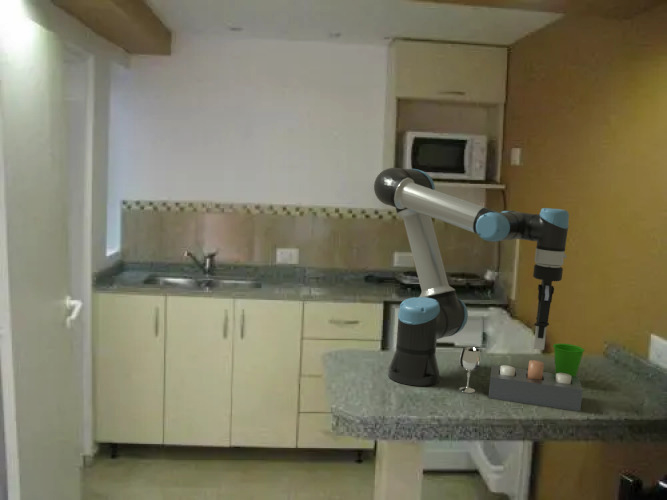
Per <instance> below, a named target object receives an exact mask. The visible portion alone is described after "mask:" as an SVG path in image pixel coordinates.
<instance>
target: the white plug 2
mask: <svg viewBox="0 0 667 500" xmlns="http://www.w3.org/2000/svg"><path fill="white" fill-rule="evenodd" d="M555 374H556V380H555V382H558V383H565V384H571V375H569V374H566V373H556V372H555Z"/></svg>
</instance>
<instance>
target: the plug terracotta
mask: <svg viewBox="0 0 667 500" xmlns="http://www.w3.org/2000/svg"><path fill="white" fill-rule="evenodd" d="M544 366H545V363H544V361H541V360H537V359H536V360H535V359H533V360H531V359H530V360H529V361H528V367H527V368H528V369H527V370H528V376H527V378H530V379H537V380H542V377H543V372H544V368H545V367H544Z"/></svg>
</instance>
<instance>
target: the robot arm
mask: <svg viewBox="0 0 667 500" xmlns="http://www.w3.org/2000/svg"><path fill="white" fill-rule="evenodd" d="M373 185H374V187H373V192H374V194H375V196H376V198H377V199H378V200H379V201H380V202H381V203H382V204H384V205H386V206H390V207H394V208H395V211H396V215H397V216H398V217H400V218H401V219H403V223H404V227H405V230H406V231H405V232H406V236H407V240H408V243H409V246H410V247H409V248H410V251H411V254H412V258H413V262H414V266H415V270H416V274H417V278H418V281H419V286H420V289H421V293H420V295H419V296H417V297H409V298H405V299H404V300H403V301H402V302H401V303H400V304H399V310H398V312H397V313H398V315H397V317H398V320H397V333H396V344H395V345H396V348H395V352H394V354H393V357H392V359H391V360H390V363H389V365H388V369H387V371H388V372H387V373H388V374H387V376H388V378H389V379H390V380H392V381H394V382H397V383H400V384H402V385H403V384H404V385H408V386H418V387H423V386H425V387H426V386H427V387H428V386H431V385H432V386H433V385H436V384H438V383H439V382H440V368H439V365H438V361H437V357H436V356H437V355H436V353H437V351H436V350H437V342H438V341H437V340H440V339H443V338H448V337H452V336H455V335H456V334H458V333H460V332H461V331H462V330H463V329H464V328H465V326H466V324H467V322H468V317H469V314H468V313H469V312H468V307H467V306H466V304H465V302H464V301H462V300H461V299H460V298H458V296H457V293H456V289H455V288H453V287H452V286H450V285H449V282H448V278H447V274H446V270H445V266H444V262H443V258H442V254H441V251H440V247H439V243H438V239H437V235H436V231H435V228H434V223H433V220H432V218H433V219H436V220H438V221H442V222H444V223H447V224H449V225H453V226H455V227H458V228H460V229H463V230H465V231H469V232H471V233H473V234H476V235H478V236H479V238H481V239H482V240H484V241H488V242H492V243H493V242H494V243H495V242H500V241H511V240H523V241H531V242H536V248H535V254H534V262H535V264H534V266H533V275H532V276H533V278H535V279H537V280H541V283H540V284H538V286H537V290H538V295H537V300H538V304H537V311H536V312H537V313H536V318H535V319H536V321H535V322H534V325H533V326H535V331H534V332H535V334H534V340H533V349H534V350H535V349H536V350H542V351H544V350H545V344H546V336H547V335H546V334H547V328H548V326H549V325H550V323H549V316H550V311H551V304H552V300H553V294H554V291H555V287H554V285H552V283H553V282H561V281H562V279H563V271H564V268H563V267H562V266H563V265H564V261H565V259H567V257H568V256H567V254H565V253H566V252H565V251H566V247H567V246H566V245H567V238H568V231H569V228H570V226H569V222H570V221H569V220H570V219H569V218H570V214H569V212H568V210H567V209H566V210H565V209H560V208H553V207H552V208H550V207H543V208H540V212H539V213H535V214H534V213H529V212H528V213H527V212H520V211H514V210H503V211H497V210H493V209H491V208H488V207H485V206H482V205H479V204H476V203H474V202H470V201H468V200H465V199H461V198H459V197H455V196H453V195H450V194H448V193H447V194H446V193H444V192H441V191H438V190H436V189H435V188H436V187H435V183H434V180H433V179H432V177H431V176H430V174H428V173H427V172H425V171H423V170H420V169H416V168H400V167H399V168H398V167H390V168H385V169H384V170H382V171H381V172H379V174H378V175H377V177H376V178H375V181H374V184H373Z"/></svg>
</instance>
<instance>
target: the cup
mask: <svg viewBox="0 0 667 500" xmlns="http://www.w3.org/2000/svg"><path fill="white" fill-rule="evenodd" d="M552 347H553V349H554V351H553V353H554V369H555V370H554V371H555V374H556V373H566V374H569V375H571V376H576V377H577V373H578V370H579V366H580V363H581V360H582V358H583V357H582V356H583V354H584V352H585V348H584V347H581V346H580V345H575V344H571V343H554V344H553V345H552Z"/></svg>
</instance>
